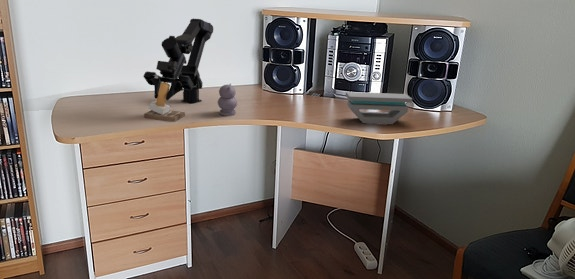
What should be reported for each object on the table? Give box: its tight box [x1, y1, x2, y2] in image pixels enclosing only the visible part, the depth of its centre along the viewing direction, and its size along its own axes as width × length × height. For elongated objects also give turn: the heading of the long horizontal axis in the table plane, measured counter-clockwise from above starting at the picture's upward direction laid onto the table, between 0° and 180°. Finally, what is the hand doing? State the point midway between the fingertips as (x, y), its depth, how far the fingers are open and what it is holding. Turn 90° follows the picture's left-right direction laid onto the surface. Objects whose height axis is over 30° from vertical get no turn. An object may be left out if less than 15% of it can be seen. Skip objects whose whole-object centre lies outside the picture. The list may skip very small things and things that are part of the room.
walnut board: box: [143, 109, 186, 122], centre depth 168 cm, size 8×13×2 cm, turn 77°
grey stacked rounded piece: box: [217, 83, 238, 117], centre depth 175 cm, size 8×8×12 cm
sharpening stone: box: [345, 91, 413, 125], centre depth 176 cm, size 25×8×11 cm, turn 94°
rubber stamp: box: [148, 82, 171, 115], centre depth 166 cm, size 5×6×11 cm
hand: (161, 98), depth 165 cm, fingers closed on rubber stamp, 4 cm apart
